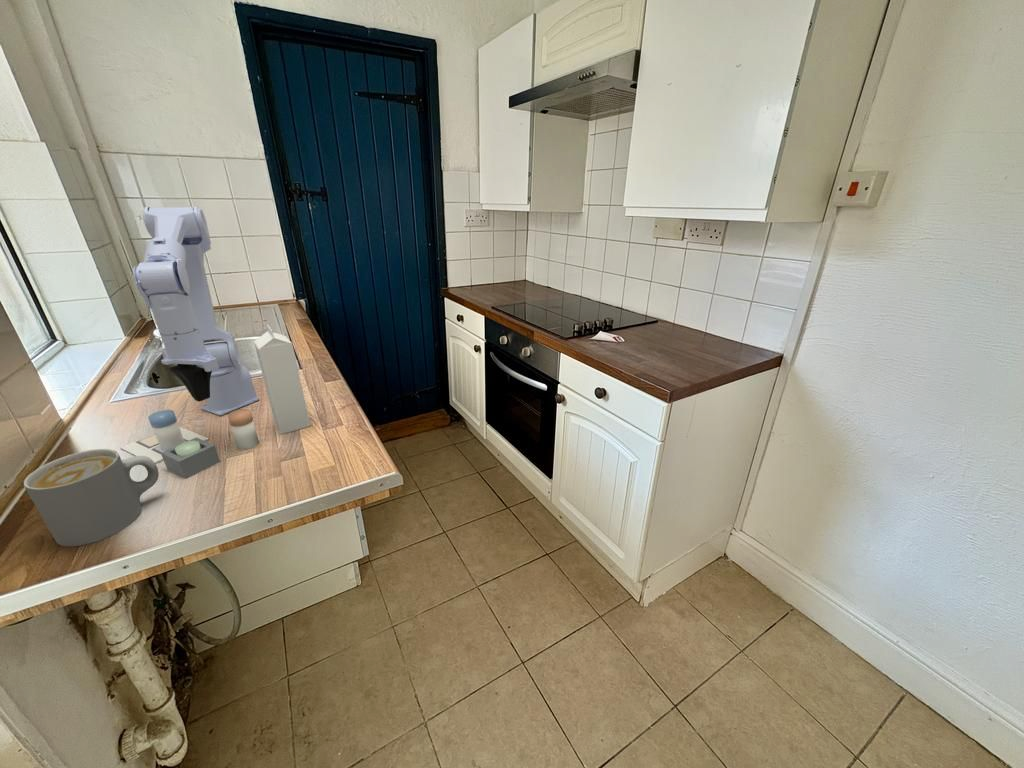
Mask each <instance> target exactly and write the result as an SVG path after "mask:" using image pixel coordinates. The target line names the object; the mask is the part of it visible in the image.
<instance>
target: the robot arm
mask: <svg viewBox="0 0 1024 768" xmlns="http://www.w3.org/2000/svg"><path fill="white" fill-rule="evenodd" d="M141 213H142V219H143V224H144V225H145V228H146V231H147V233H148V234H149V236H150V237H151V238H152V239H150V240H149V241H148V242H147V244H146V247H145V252H144V256H143V261H142V262H139V263H138V265H135V266H134V267H133V271H132V272H133V279H134V281H135V285H136V287H137V289H138V292H139V293H140V295H141V296H142V298H143V300H144V303H145V305H146V306H147V309H151V312H152V315H153V318H154V321H155V324H156V327H157V330H158V332H159V335H160V338H161V341H162V344H163V346H164V348H162V349H160V352H161V355H162V357H163V358H162V359H161V360H160V361H161V364H162V365H166V366H168V365H173V364H176V365H174V366H171V367H170V368H169V372H171V373H172V374H174V376H175V377H177V378H178V379H179V380H180V382H181V383H182V385H184V387H185V388H186V390H187V391H188V393H189V394H190V395H191V397H192V398H193V400H194V401H196V402H203V401H206V404H204V405H201V406H200V409H201V410H203V411H205V412H209V413H212V414H214V415H216V416H223V415H226V414H229V413H231V412H233V411H235V410H239V409H240V408H243V407H245V406H248V405H250V404H252V403H255V402H257V401H259V399H260V398H259V397H258V396H257V393H256V389H255V386H254V383H253V379H252V377H251V376H252V375H251V373H250V371H249V370H248V369H247V367H246V366H244V365H243V364H241V356H240V351H239V348H238V345H237V343H236V340H235V337H234V335H233V334H232V333H230V332H229V331H227V330H226V329H223V328H221V327H219V326H218V325H217V324H218V323H217V320H216V314H215V310H214V306H213V301H212V296H211V292H210V287H209V283H208V277H207V274H206V269H205V262H204V261H205V259H204V257H205V253H206V252H208V251H211V249H212V247H211V244H212V242H211V237H210V232H209V228H208V223H207V220H206V216H205V214H204V212H203V209H201V208H200V207H199V206H195V205H194V206H174V207H172V206H171V207H170V206H166V207H165V206H164V207H161V206H160V207H158V206H156V207H150V206H145V207H144V208H143V210H142V212H141Z"/></svg>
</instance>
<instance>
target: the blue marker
mask: <svg viewBox="0 0 1024 768" xmlns="http://www.w3.org/2000/svg"><path fill="white" fill-rule="evenodd" d="M148 420H149V424H150V426H151V428H152V429H153V434H155V435H156V438H157V440H158V443H159V445H160V448H161V450H162V451H166V450H169V449H171V448H173V447H176V446H178V445H179V444H181V443H184V442H185V441H184V439H183V436H182V433H181V431H180V428H179V427H180V425H179V424H178V419H177V417H176V414H175V412H174V410H172V409H164V410H159V411H156V412H153V413H151V414H150V415H148Z"/></svg>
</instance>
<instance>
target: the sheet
mask: <svg viewBox="0 0 1024 768" xmlns="http://www.w3.org/2000/svg"><path fill="white" fill-rule="evenodd" d="M179 428H180V431H181V433H182V436H183V439H184V441H185V442H187V441H189V440H192V439H194V438H196V437H197V438H199V439H201V440H204V441H206V442H208V440H209V438H208V437H206V436H204V435H202V434H201V435H200V434H198V433H196V432H194V431H191V430H189V429H186V428H185V427H181V426H179ZM120 449H121V450H122V451H124V452H126V453H128V454H130V455H131V456H133V457H135V456H146V457H149V458H150V459H152V460H153V461H154V463H155V464H156V465H157V464H158V463H160V462H162V461H164V460H163V457H162V455H161V453H162V452H164V451H162V450H161V448H160V445H159V443H158V440H157V438H156V435H155V433H152V434H150V435H148V436H145V437H143V438H140V439H138V440H136V441H133V442H131V443H128V444H126V445H122V446H121V447H120Z"/></svg>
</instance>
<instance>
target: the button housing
mask: <svg viewBox="0 0 1024 768" xmlns="http://www.w3.org/2000/svg"><path fill="white" fill-rule="evenodd" d="M189 441H198V442H199V444H200V447H201V449H200V450H198V451H196V452H194V453H191V454H189V455H187V456H185V457H183V458H181V457H179V456H177V454H176V451H175V447H173V448H171V449H169V450H166V451H164V452H162V453H161V455H162V457H163V460H162V461H164V465H165V467H166V469H167V470H168V471H169V472H172V473H174V474H177V475H179V476H180V477H181V478H184V479H187V478H189V477H192V476H193V475H195V474H197V473H199V472H201V471H203V470H205V469H207V468H210V467H211V466H213V465H215V464H216V465H217V463H219V462H221V459H220V456H219V453H218V450H217V447H216V445H215V444H214V443H211V442H208V441H204V440H201V439H199V438H197V437H196V438H194V439H192V440H189Z"/></svg>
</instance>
